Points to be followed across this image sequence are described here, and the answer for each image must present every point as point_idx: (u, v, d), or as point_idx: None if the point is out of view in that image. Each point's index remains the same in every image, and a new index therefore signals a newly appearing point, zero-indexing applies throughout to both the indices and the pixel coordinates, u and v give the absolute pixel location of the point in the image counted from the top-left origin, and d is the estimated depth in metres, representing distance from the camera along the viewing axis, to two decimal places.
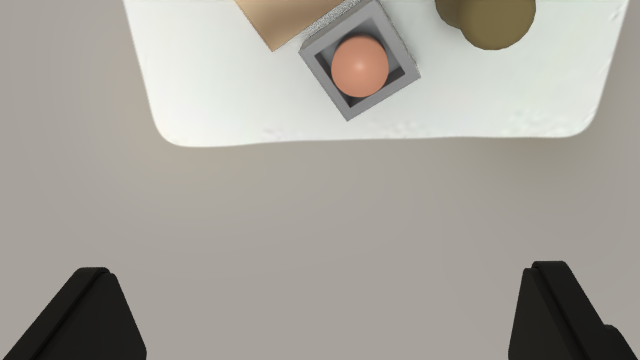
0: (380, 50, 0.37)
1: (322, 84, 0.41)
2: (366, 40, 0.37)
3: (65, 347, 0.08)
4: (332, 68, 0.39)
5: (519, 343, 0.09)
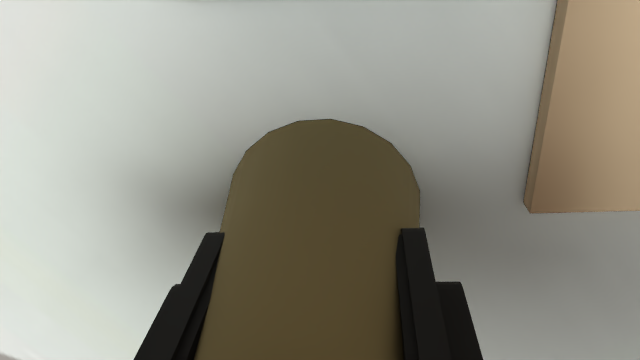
0: None
1: None
2: None
3: None
4: None
5: None
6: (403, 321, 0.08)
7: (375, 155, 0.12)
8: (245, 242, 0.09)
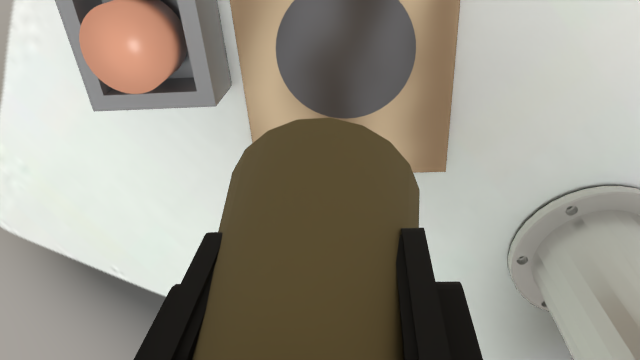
0: (143, 91, 0.25)
1: None
2: (164, 78, 0.25)
3: None
4: (139, 12, 0.23)
5: None
6: (403, 321, 0.08)
7: (375, 153, 0.12)
8: (244, 240, 0.09)
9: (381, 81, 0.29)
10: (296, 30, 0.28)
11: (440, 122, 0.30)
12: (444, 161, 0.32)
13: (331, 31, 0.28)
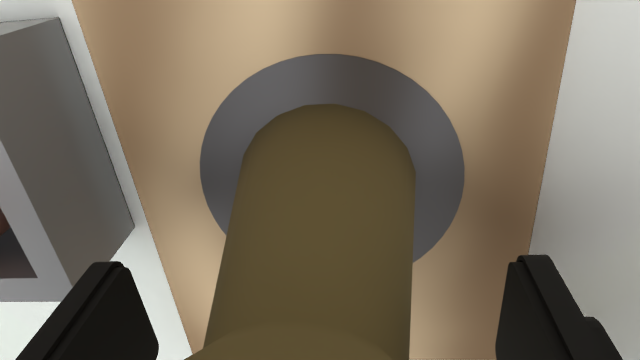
0: None
1: None
2: None
3: (83, 339, 0.08)
4: None
5: (504, 336, 0.10)
6: None
7: (375, 136, 0.13)
8: (259, 207, 0.10)
9: None
10: (235, 149, 0.15)
11: (503, 292, 0.17)
12: None
13: None
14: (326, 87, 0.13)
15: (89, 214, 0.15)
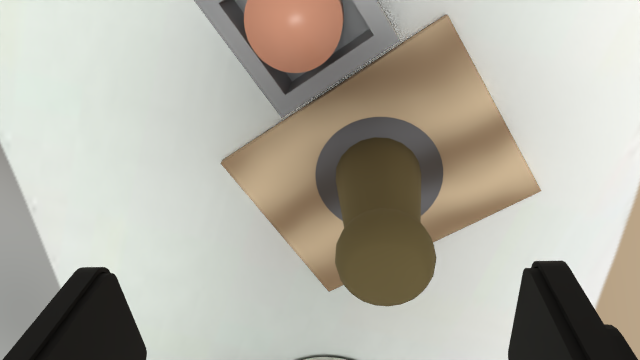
0: (261, 56, 0.23)
1: None
2: None
3: (65, 347, 0.08)
4: (340, 25, 0.22)
5: (519, 343, 0.09)
6: None
7: None
8: (402, 179, 0.26)
9: None
10: (375, 133, 0.30)
11: None
12: (336, 286, 0.36)
13: None
14: (423, 155, 0.30)
15: None
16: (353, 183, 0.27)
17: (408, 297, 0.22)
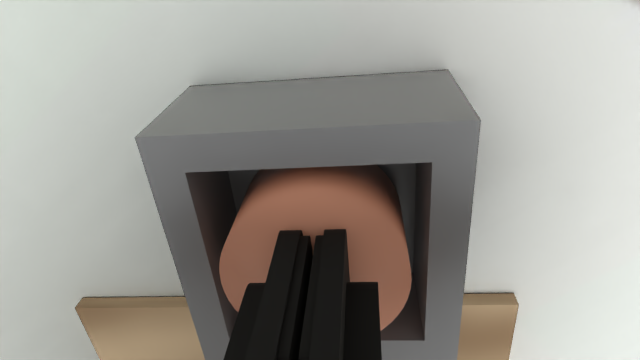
0: (229, 294, 0.12)
1: (460, 272, 0.12)
2: None
3: (301, 298, 0.09)
4: (389, 319, 0.12)
5: None
6: (305, 320, 0.08)
7: None
8: None
9: None
10: None
11: None
12: None
13: None
14: None
15: None
16: None
17: None
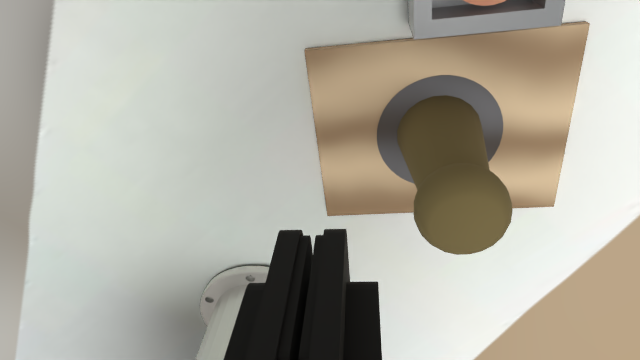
0: None
1: None
2: None
3: (301, 298, 0.09)
4: None
5: None
6: (305, 320, 0.08)
7: None
8: (484, 147, 0.27)
9: None
10: (463, 94, 0.30)
11: (373, 207, 0.36)
12: (337, 214, 0.37)
13: None
14: (487, 133, 0.32)
15: None
16: (441, 131, 0.27)
17: (470, 251, 0.24)
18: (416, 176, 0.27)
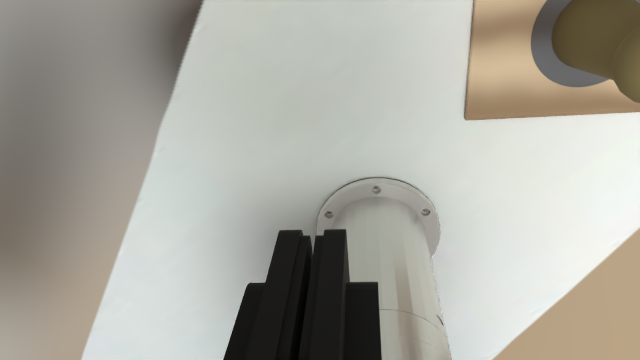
0: None
1: None
2: None
3: (301, 298, 0.09)
4: None
5: None
6: (304, 320, 0.08)
7: None
8: None
9: (559, 62, 0.36)
10: None
11: (513, 111, 0.38)
12: (475, 118, 0.39)
13: None
14: None
15: None
16: (622, 6, 0.29)
17: None
18: (602, 45, 0.29)
